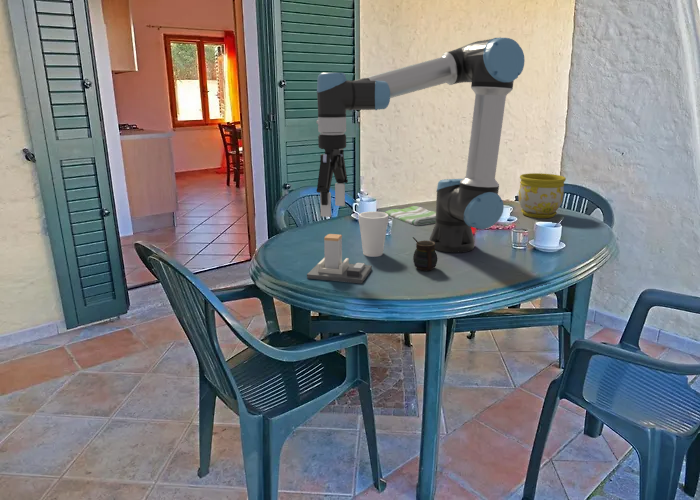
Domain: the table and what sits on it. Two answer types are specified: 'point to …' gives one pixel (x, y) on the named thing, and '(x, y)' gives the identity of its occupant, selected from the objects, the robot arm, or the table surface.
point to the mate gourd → (425, 255)
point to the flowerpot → (540, 194)
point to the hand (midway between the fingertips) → (333, 210)
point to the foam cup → (373, 232)
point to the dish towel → (413, 215)
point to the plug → (333, 251)
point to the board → (341, 272)
